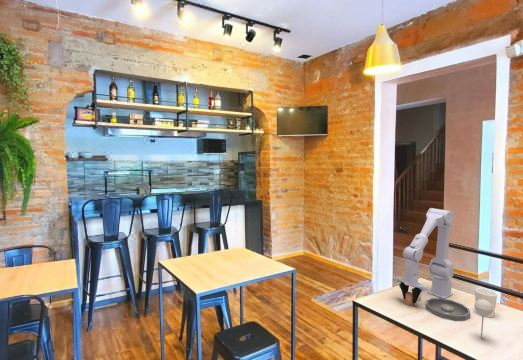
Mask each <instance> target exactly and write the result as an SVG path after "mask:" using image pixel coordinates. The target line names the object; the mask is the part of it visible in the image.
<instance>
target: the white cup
mask: <svg viewBox="0 0 523 360" xmlns="http://www.w3.org/2000/svg"><path fill="white" fill-rule="evenodd" d="M474 294H475V295H474V300H475V301H474V303H475V302H476V301H477V300H480V299H483V300H487V301H488V302H490V303H491V305H492V306H493V312H492V314H491V315H489V316H484V318H493V317H494V316H495V311H496V306H497V298H498V294H497V292H495V291H494V290H491V289H487V288H484V287H483V288H482V287H481V288H479V287H478V288H476V289H475V291H474ZM474 310H475V309H474ZM475 313H476V314H477V315H479V316H481V317H482V315H480V314H479V313H477V311H476V310H475Z"/></svg>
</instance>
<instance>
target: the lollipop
mask: <svg viewBox="0 0 523 360" xmlns="http://www.w3.org/2000/svg"><path fill="white" fill-rule="evenodd" d="M473 306H474V310H476V311H477V313H479V314H480V315H479V314H478V315H479V316H481V315H482V316H481V328H480V339H483V332H484V331H483V330H484V318H485V317H484V316H489V315H491V314H492V312H493V306H492V305H491V303H490V302H488V301H487V300H483V299H480V300H477V301H476V302H475V301H474V305H473ZM476 311H475V312H476ZM477 313H476V314H477Z"/></svg>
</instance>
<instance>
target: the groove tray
mask: <svg viewBox="0 0 523 360" xmlns="http://www.w3.org/2000/svg"><path fill="white" fill-rule="evenodd" d="M425 309H426V310H427V311H428V312H430V313H431V315H435V316H436V317H439V318H441V319H444V320H449V321H454V322H460V321H461V322H463V321H467V320H469V319H471V310H470V308H468V307H467V306H465V305H464V304H463V303H460V302H458V301H454V300H452V299H447V298H444V299H443V298H440V297H431V298H429V299H426V300H425Z"/></svg>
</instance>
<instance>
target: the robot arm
mask: <svg viewBox="0 0 523 360" xmlns="http://www.w3.org/2000/svg"><path fill="white" fill-rule="evenodd" d="M425 218H426V220H425V223H424V224H423V226H422V228H421V231H420V233H417V234H415V236H414V238H413V239H412V241H411V243H410V244H409V246H405V248H404V249H403V252H402V256H403V259H404V262H405V264H404V265H405V266H404V277H401V276H395V282H399V284H398V286H399V289H400V291H401V293H402V297H403V300H405V297H406V292H409V288H410V287H412V288H414V289H412V288H411V292H412V293H413V303H415V304H417V302H418V301H417V299H418V297H419V295H420V293H421V294H422V292H424V293H425V292H427V294H430V295H432V296H436V297H437V298H443V299H447V298H448V297H451V296H453V294H454V293H453V292H452V278H453V277H454V271H455V270H454V264H453V263H452V261H450V259H448V256H449V248H450V246H449V245H450V235H451V227H452V226H453V223H454V222H453V219H454V214H453V212H451V210H445V209H440V208H433V207H430V208H429V209H428V210H427V212H426V214H425ZM436 227H437V236H436V237H437V238H436V239H437V240H436V250H435V257H433V258H431V260H430V263H429V265H428V271H429V273H430V276H432V279H431V289H430V290H429V291H428V286H426V285H424V284H422V283H421V282H419V268H420V261H421V260H422V258H423V254H424V250H425V247H426V245H427V244H428V242H429V239H428V237H429V236H430V234H431V233H432V232H433V230H434V229H435V228H436Z"/></svg>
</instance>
